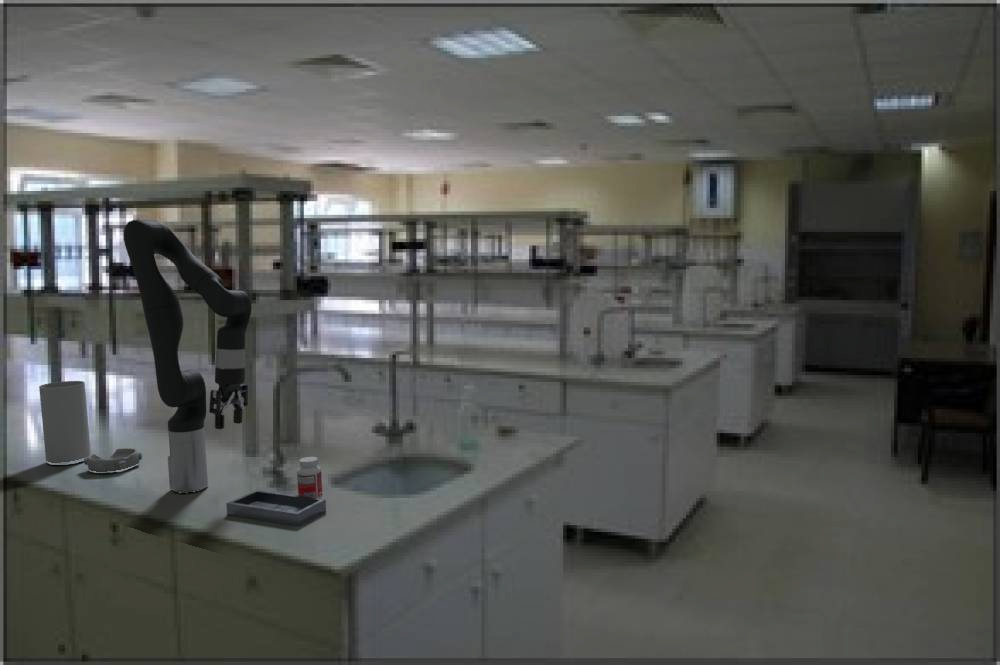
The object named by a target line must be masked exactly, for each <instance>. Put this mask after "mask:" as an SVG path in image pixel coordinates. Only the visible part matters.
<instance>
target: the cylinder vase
mask: <svg viewBox="0 0 1000 665" xmlns="http://www.w3.org/2000/svg"><path fill="white" fill-rule="evenodd" d="M38 389H39V401H40V412H41V422H42V431H43V432H42V433H43V442H44V443H43V444H44V452H45V454H44V455H45V462H46V461H48V462H51V463H61V462H70V461H75V460H79V459H82V458H86V457H88V456H89V455H90V454H91V453H92V452H91V451H92V450H91V440H90V439H91V438H90V428H89V420H88V419H89V418H88V415H89V414H88V406H87V392H86V382H85V381H82V380H66V381H64V380H63V381H55V382H49V383H44V384H41V385H39V387H38Z"/></svg>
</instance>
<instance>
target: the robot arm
mask: <svg viewBox="0 0 1000 665" xmlns="http://www.w3.org/2000/svg"><path fill="white" fill-rule="evenodd" d="M122 234H123V242H124V243H123V244H124V246H125V249H126V252H127V256H128V258H129V262H130V264H131V267H132V270H133V273H134V276H135V280H136V284H137V287H138V291H139V296H140V299H141V303H142V304H141V305H142V310H143V313H144V318H145V323H146V326H147V329H148V335H149V339H150V343H151V348H152V354H153V361H154V369H155V370H154V371H155V375H156V377H155V378H156V386H157V390H158V394H159V397H160V399H161V401H162V403H163V404H164V405H166V406H167V407H168V408H177V410H176V411H175V413H174V414H173V415H172V416H170V418H169V419H168V421H167V431H168V432H167V433H168V442H169V443H168V444H169V455H168V456H167V469H168V481H169V484H168V485H169V490H170V489H173V491H175V492H181V493H186V492H193V491H198V490H201V489H204V488H206V487H207V486H208V487H209V480H208V464H207V463H208V462H207V448H206V437H205V436H206V434H205V419H206V416H207V386H206V382H205V379H204V377H203V376H202V374H201V373H200V372H199V371H197V370H196V369H195V370H194V369H185V370H184V369H183V370H181V367H180V362H179V353H178V352H179V346H180V341H181V338H182V334H183V330H184V329H183V328H184V317H183V313H182V308H181V303H180V300H179V297H178V295H177V294H176V292H175V291H174V289H173V288H172V287H171V285H170V284H169V282H167V280H166V279H165V278H164V277H163V275H162V273H161V272H160V270H159V268H158V265H157V261H156V257H155V255H157V254H158V255H159V256H160V255H161V256H162V257H164V258H165V259H167V260H169V261H170V263H171V262H172V264H173V265H174V266H175V267H176V269H177V271H178V275H179V276H180V278H181V280H182V282H184V283H185V284H186V285H187V286H188V287H190V288H191V289H192V290H193V291H194V292H195V293H197V294H198V295H199V296H201V297H202V298H203V301H204V302H205V303H206V305H207V306H208V307H209V309H211V311H212V312H213V313H215V314H216V315H218V316H220V317H222V318H226V321H225V323H224V325H223V326H220V327H219V328H218V329H217V336H216V353H215V359H214V360H215V361H214V362H215V363H214V364H215V365H214V366H215V368H214V370H215V371H214V383H215V384H217V385H218V389H217V390H216V389H211V390H210V395H209V396H210V397H209V409H208V410H209V411H208V412H209V414H213V415H214V428H215V429H216V430H224V429H225V412H226V410H227V409H229V407H230V405H232V406H233V424H242V423H243V410H244V409H245V407H248V405H249V386H248V384H245V381H246V361H247V360H246V349H245V348H246V332H247V329H248V327H249V326H248V325H249V322H250V319H251V315H252V308H253V307H252V306H253V305H252V300H251V297H250V296H249V295H248V293H246V291H243V290H232V289H231V290H230V289H229V290H228V289H227V288H225V287H224V286H225V285H224V280H223V279H222V278H221V276H219V275H218V274H217V273H216V272H214V271H213V270H212V269H211V268H209V267H208V266H207V265H206V264H205V263H203V262H202V261H201V260H200V259H198V257H197V256H195V254H193V253H192V252H191V250H189V248H188V247H187V246H186V245H185V243H183V242H182V240H180V238H179V237H178V236H177V235H176V234H175V233H174V231H173V230H172V229H171V228H170V227H169V226H168V225H166V224H165V223H164V222H162V221H160V220H153V219H132V220H129V221H128V222H127V223H126V224H125V226H124V228H123V233H122ZM208 487H207V488H208ZM207 488H206V489H207ZM204 490H205V489H204ZM173 491H172V492H173ZM198 492H199V491H198ZM186 494H187V493H186Z"/></svg>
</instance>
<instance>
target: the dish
mask: <svg viewBox="0 0 1000 665" xmlns="http://www.w3.org/2000/svg"><path fill="white" fill-rule="evenodd" d="M141 460H143V453H142V452H140V451H138V449H136V448H131V447H124V448H123V447H122V448H117V449H115V451H114V453H113V454H111V455H110V456H109V457H104V458H102V457H100V456H98V455H97V454H95V453H92V454H91V455H89V456H88V457H86V458H84V462H83V463H84V465H85V466H87V468H88V471H89V470H91V471H96V472H107V471H116V470H121V469H125V468H128V467H131V466H134V465H136V464H138V463H139V464H140V461H141Z"/></svg>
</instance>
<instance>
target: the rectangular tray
mask: <svg viewBox="0 0 1000 665" xmlns="http://www.w3.org/2000/svg"><path fill="white" fill-rule="evenodd" d="M225 507H226V515H227V514H230V515H229V516H231V515H235V516H234V517H238V516H240V517H239V518H245V519H250V518H251V519H252V520H258V521H264V522H269V523H270V522H271V523H277V524H282V525H290V526H296V527H299V526H301V525H303V524H304V523H307V522H309V521H310V520H312V519H314V518H316V517H318V516H319V515H321V514H324V513H325V512H327V502H326V499H325V498H322V499H319V498H312V497H305V496H298V495H296V494H290V493H281V492H275V491H267V490H261V489H256V490H254V491H251V492H248V493H246V494H245V495H242V496H239V497H238V498H235V499H233V500H231V501H228V502H226V506H225Z"/></svg>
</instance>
